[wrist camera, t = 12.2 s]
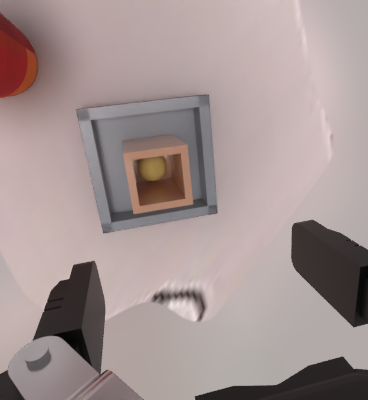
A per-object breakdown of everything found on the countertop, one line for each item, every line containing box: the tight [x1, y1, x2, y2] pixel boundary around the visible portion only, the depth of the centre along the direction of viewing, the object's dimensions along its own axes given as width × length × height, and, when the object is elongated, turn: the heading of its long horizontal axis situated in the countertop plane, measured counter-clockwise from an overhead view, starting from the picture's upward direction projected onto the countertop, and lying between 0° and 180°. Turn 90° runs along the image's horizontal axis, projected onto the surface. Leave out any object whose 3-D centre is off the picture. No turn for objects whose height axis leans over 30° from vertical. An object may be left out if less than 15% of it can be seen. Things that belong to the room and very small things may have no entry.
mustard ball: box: [138, 156, 166, 181], centre depth 29 cm, size 3×3×3 cm
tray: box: [76, 95, 217, 233], centre depth 30 cm, size 12×12×4 cm
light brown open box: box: [123, 134, 193, 214], centre depth 27 cm, size 5×5×8 cm
